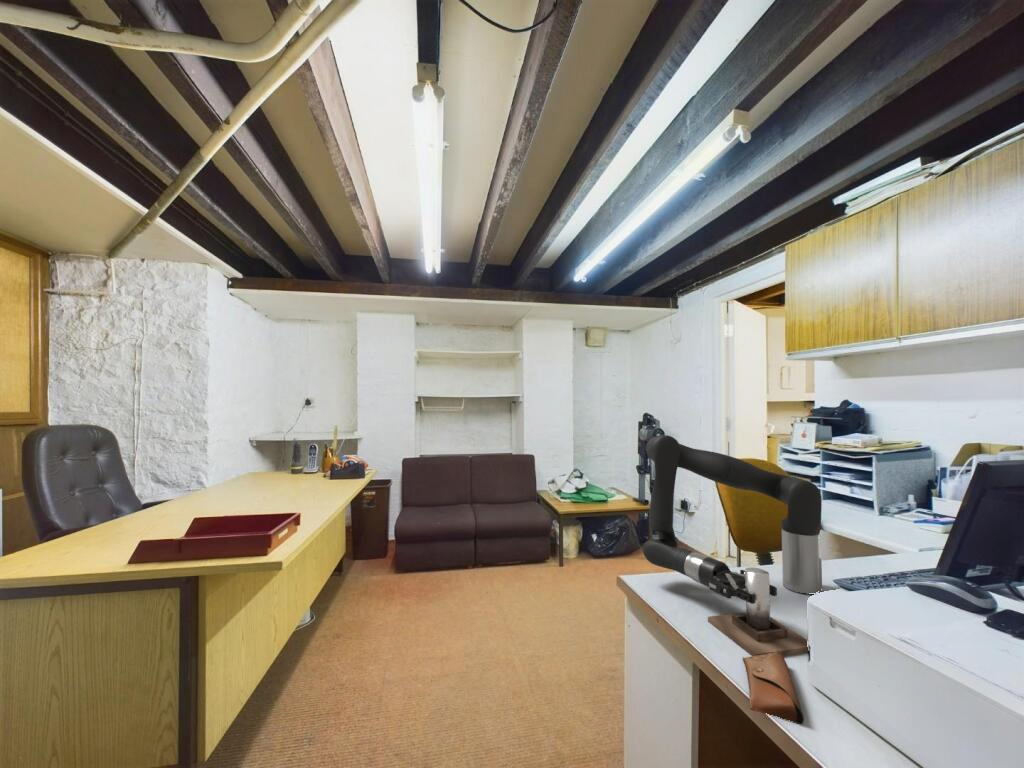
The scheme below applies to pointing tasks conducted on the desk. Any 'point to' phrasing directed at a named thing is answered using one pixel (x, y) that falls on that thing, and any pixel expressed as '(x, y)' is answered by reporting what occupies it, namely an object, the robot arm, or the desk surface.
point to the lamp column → (758, 599)
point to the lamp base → (759, 635)
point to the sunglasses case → (772, 687)
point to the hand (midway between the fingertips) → (765, 595)
